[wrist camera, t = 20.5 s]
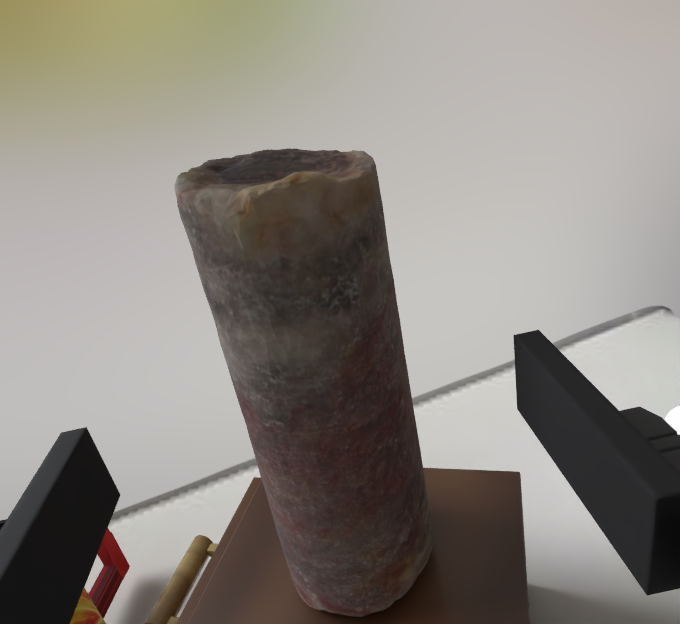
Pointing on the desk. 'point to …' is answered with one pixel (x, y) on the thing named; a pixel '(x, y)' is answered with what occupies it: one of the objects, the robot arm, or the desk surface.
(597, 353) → the desk surface
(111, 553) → the mug
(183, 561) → the dresser drawer
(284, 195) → the candle
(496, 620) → the dresser
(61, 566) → the robot arm
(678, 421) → the ball
